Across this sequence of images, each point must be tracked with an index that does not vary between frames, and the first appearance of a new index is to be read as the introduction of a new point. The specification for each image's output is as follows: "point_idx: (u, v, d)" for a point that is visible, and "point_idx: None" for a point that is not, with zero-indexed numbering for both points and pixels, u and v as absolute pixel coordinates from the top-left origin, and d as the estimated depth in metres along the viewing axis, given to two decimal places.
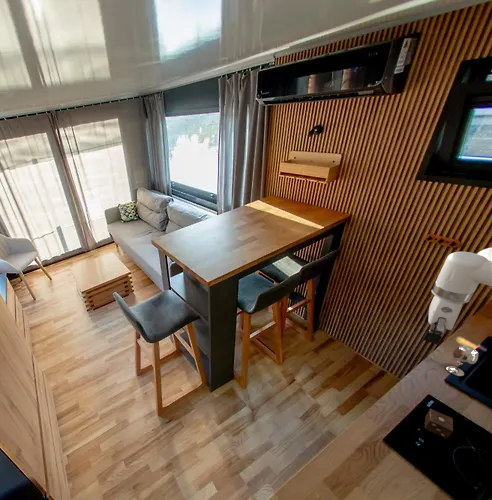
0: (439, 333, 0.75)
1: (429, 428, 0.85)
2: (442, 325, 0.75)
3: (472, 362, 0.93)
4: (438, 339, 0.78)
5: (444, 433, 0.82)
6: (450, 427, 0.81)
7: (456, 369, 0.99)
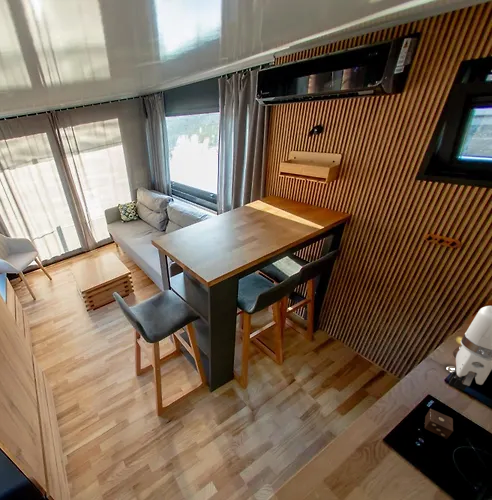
0: None
1: (429, 428, 0.85)
2: (469, 380, 0.74)
3: None
4: (465, 385, 0.78)
5: (444, 433, 0.82)
6: (450, 427, 0.81)
7: None
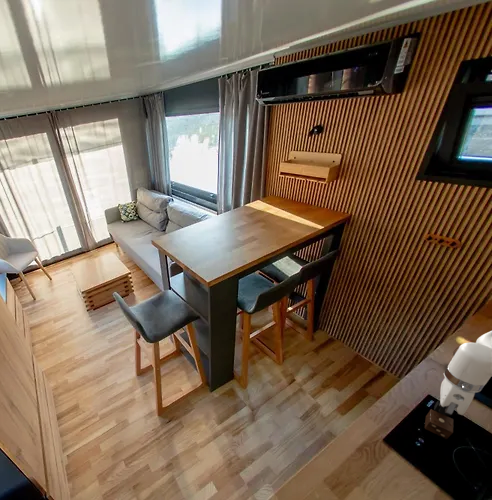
0: None
1: (429, 428, 0.85)
2: (451, 410, 0.79)
3: None
4: None
5: (444, 434, 0.82)
6: (450, 428, 0.81)
7: None
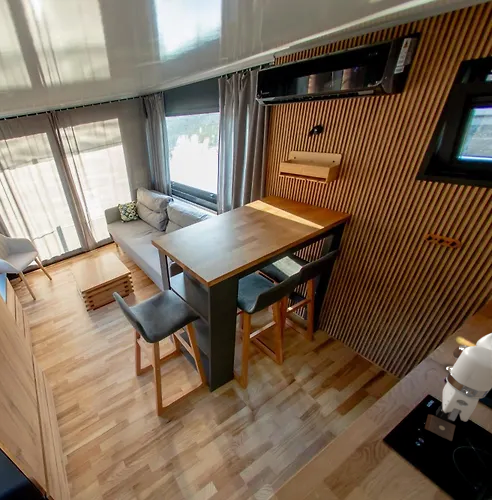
0: None
1: None
2: (454, 416, 0.76)
3: None
4: None
5: (443, 437, 0.81)
6: (450, 437, 0.79)
7: None
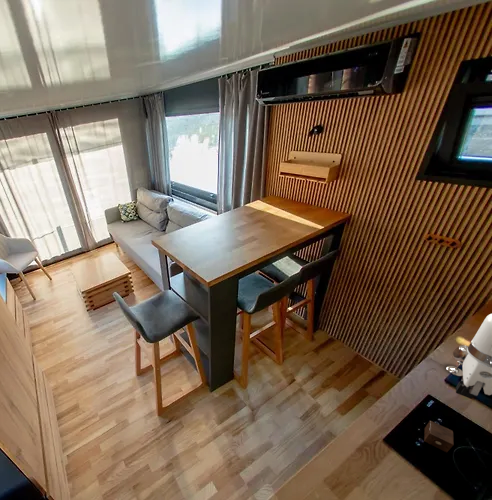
0: None
1: None
2: (477, 390, 0.70)
3: None
4: None
5: None
6: (445, 450, 0.79)
7: (456, 369, 0.99)
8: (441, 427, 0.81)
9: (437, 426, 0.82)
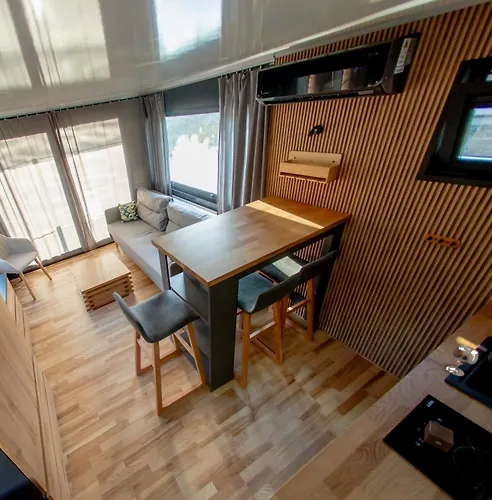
0: None
1: None
2: None
3: (472, 362, 0.93)
4: None
5: None
6: (445, 450, 0.79)
7: (456, 369, 0.99)
8: (441, 427, 0.81)
9: (437, 426, 0.82)
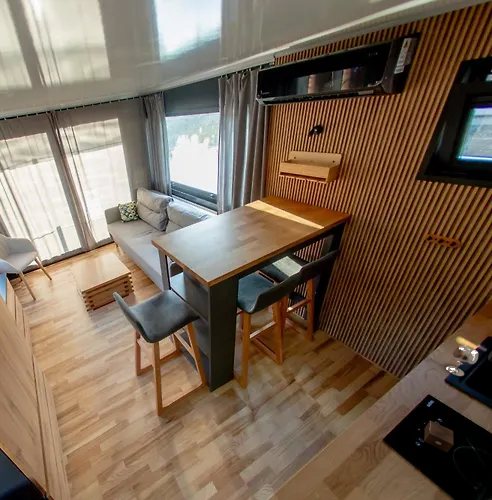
0: None
1: None
2: None
3: (472, 362, 0.93)
4: None
5: None
6: (445, 450, 0.79)
7: (456, 369, 0.99)
8: (441, 427, 0.81)
9: (437, 426, 0.82)
